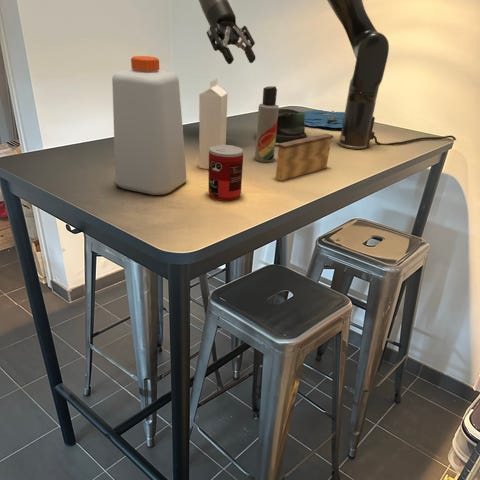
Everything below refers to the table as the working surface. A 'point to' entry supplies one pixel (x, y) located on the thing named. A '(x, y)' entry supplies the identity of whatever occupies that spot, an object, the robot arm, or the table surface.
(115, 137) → the plastic bottle
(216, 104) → the milk
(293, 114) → the chocolate cake
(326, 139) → the wall panel
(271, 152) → the lotion bottle
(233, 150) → the canned food
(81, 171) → the table surface
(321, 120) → the decorative plate
